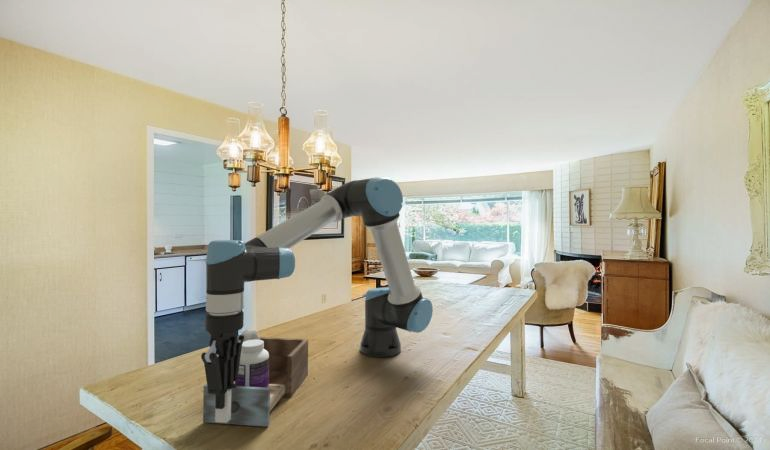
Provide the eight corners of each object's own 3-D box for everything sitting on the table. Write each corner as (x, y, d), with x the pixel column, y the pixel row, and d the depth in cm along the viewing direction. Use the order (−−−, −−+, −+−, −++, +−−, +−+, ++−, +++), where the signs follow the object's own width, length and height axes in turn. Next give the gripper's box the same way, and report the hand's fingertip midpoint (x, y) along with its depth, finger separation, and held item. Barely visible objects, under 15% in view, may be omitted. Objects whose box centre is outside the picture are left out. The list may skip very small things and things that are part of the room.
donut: (243, 363, 115) (244, 333, 115) (234, 362, 116) (234, 332, 116) (260, 352, 125) (260, 325, 125) (251, 351, 126) (252, 324, 126)
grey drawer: (289, 397, 93) (290, 365, 93) (265, 429, 78) (265, 392, 78) (234, 393, 94) (234, 362, 94) (199, 425, 79) (200, 388, 79)
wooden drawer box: (307, 374, 107) (308, 339, 107) (291, 397, 93) (291, 356, 93) (258, 372, 109) (258, 337, 109) (234, 393, 95) (235, 353, 95)
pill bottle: (271, 391, 93) (272, 337, 93) (264, 406, 85) (265, 347, 85) (240, 392, 92) (241, 337, 92) (230, 408, 84) (230, 348, 84)
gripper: (225, 304, 82) (223, 403, 82) (188, 318, 69) (186, 437, 69) (255, 305, 81) (253, 406, 81) (224, 320, 68) (222, 440, 68)
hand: (223, 420), depth 75 cm, fingers closed
